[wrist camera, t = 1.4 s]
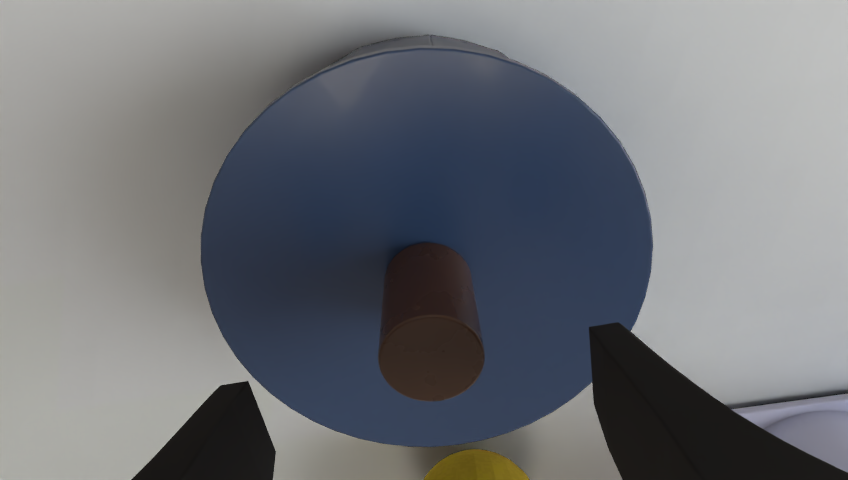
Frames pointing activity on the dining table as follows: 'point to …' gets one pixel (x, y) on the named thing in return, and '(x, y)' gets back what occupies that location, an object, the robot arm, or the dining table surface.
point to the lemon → (475, 467)
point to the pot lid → (424, 245)
